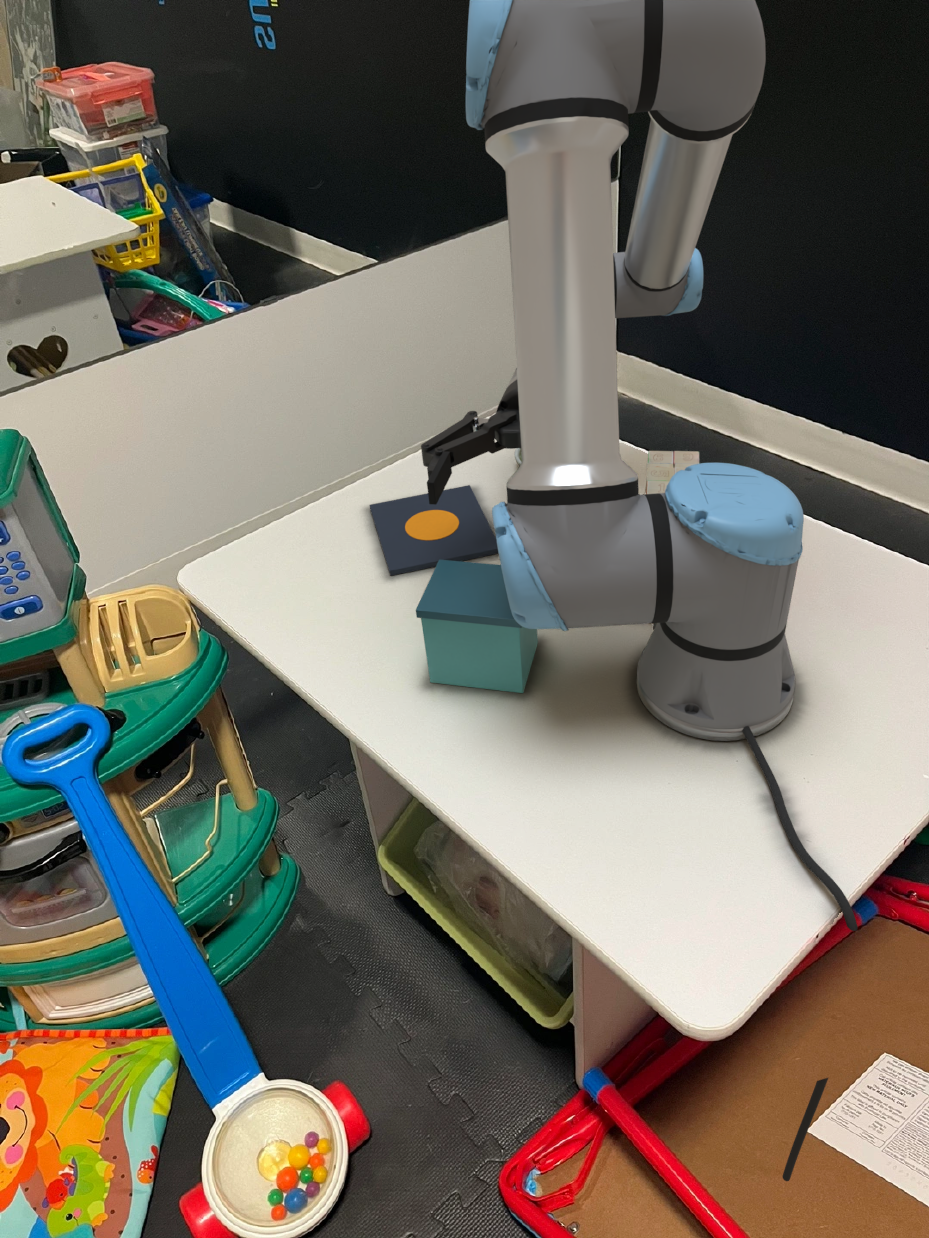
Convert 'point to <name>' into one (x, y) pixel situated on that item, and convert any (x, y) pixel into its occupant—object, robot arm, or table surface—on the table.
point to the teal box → (474, 629)
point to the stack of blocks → (666, 467)
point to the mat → (432, 530)
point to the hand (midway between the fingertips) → (494, 498)
